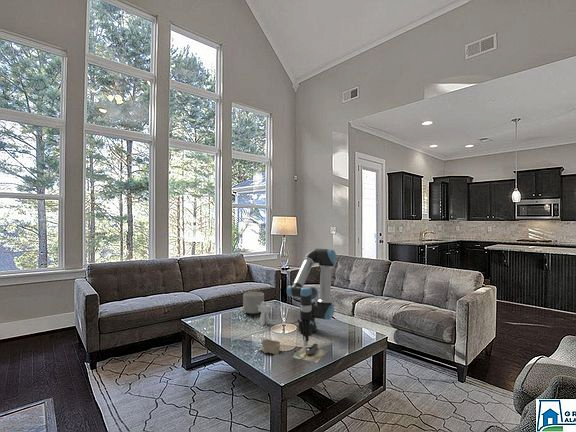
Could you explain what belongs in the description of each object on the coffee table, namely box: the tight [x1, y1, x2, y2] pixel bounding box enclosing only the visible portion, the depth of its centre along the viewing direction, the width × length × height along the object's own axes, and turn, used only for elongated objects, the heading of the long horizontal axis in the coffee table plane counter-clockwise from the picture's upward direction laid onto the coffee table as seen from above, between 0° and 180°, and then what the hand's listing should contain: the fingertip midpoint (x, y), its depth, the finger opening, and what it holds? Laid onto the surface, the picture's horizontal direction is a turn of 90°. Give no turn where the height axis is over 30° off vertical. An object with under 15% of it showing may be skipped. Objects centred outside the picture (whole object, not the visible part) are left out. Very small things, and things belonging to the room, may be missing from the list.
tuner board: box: [292, 346, 329, 364], centre depth 206 cm, size 18×19×1 cm
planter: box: [242, 291, 265, 316], centre depth 298 cm, size 19×19×18 cm
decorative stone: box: [258, 338, 281, 355], centre depth 211 cm, size 8×14×8 cm, turn 78°
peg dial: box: [304, 343, 319, 357], centre depth 206 cm, size 20×6×3 cm, turn 153°
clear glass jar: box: [257, 301, 274, 326], centre depth 270 cm, size 12×13×18 cm
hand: (305, 345), depth 216 cm, fingers closed
